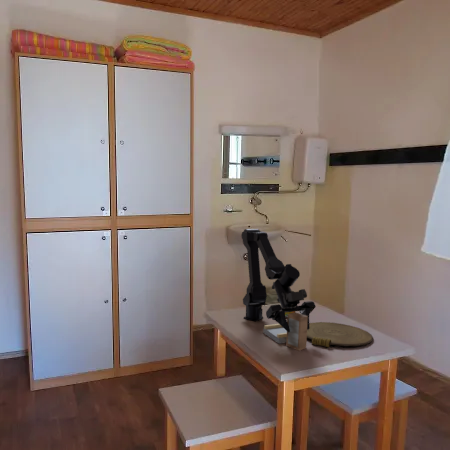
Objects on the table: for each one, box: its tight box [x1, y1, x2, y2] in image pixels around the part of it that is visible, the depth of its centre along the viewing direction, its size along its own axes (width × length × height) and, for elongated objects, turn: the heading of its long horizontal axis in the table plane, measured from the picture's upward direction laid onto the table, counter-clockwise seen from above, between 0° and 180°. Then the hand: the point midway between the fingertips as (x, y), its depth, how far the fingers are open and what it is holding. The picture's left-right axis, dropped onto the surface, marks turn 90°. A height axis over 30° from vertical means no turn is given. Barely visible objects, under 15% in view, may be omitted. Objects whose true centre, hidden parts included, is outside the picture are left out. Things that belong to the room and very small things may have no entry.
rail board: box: [262, 323, 287, 344], centre depth 169 cm, size 12×9×3 cm
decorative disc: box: [307, 321, 374, 348], centre depth 172 cm, size 29×3×30 cm
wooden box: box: [286, 311, 308, 352], centre depth 158 cm, size 6×4×12 cm
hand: (299, 330), depth 157 cm, fingers open, 8 cm apart
